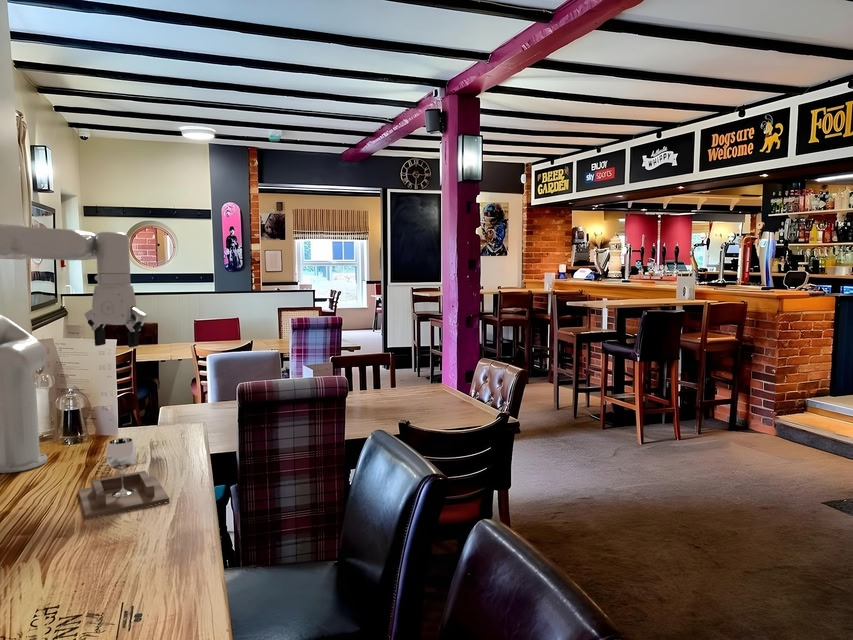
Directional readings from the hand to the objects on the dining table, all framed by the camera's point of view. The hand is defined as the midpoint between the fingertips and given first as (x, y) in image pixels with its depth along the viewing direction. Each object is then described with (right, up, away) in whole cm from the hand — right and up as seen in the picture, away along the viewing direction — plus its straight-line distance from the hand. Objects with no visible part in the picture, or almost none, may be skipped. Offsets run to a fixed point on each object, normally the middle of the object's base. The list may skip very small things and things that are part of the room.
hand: (116, 345), depth 155 cm
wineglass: (+13, -32, -22) cm, 41 cm away
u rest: (+13, -33, -22) cm, 42 cm away
